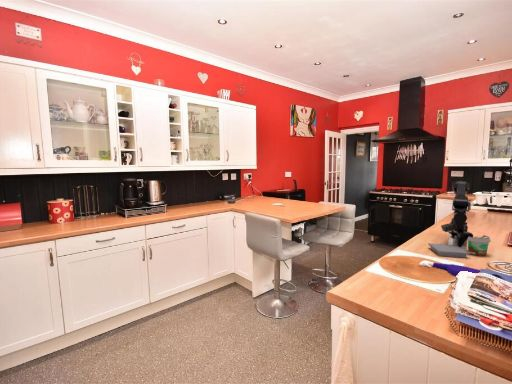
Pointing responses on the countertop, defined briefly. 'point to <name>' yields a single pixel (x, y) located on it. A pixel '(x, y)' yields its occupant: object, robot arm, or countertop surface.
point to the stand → (448, 250)
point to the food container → (478, 245)
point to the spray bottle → (449, 267)
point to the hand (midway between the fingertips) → (457, 245)
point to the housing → (456, 242)
